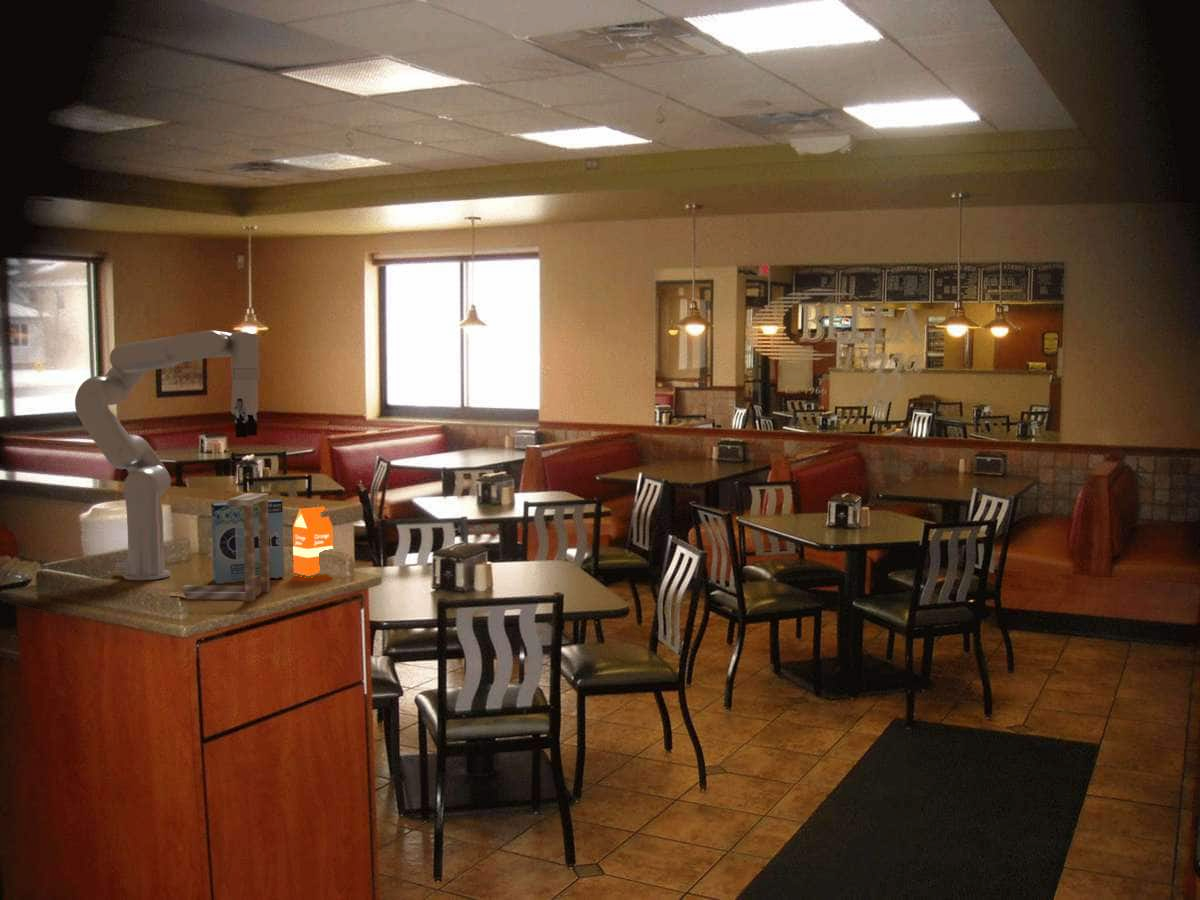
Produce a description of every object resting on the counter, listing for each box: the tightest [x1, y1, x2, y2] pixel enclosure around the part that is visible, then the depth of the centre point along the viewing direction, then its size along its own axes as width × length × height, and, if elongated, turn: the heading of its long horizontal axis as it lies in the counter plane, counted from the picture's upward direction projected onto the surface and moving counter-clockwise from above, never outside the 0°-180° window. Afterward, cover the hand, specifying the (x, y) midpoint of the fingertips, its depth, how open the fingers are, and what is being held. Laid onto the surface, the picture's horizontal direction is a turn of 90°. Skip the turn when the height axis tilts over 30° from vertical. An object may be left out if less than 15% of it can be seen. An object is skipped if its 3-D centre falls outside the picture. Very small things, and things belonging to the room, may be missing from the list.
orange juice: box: [292, 506, 334, 576], centre depth 332 cm, size 8×9×20 cm
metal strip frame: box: [181, 492, 271, 602], centre depth 300 cm, size 23×15×27 cm, turn 88°
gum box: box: [210, 498, 286, 584], centre depth 323 cm, size 20×5×23 cm, turn 119°
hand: (246, 436), depth 321 cm, fingers open, 7 cm apart
